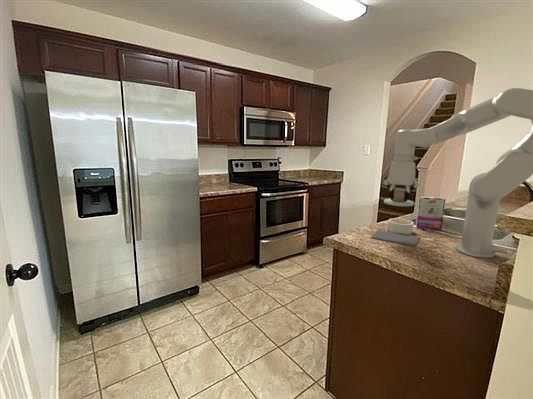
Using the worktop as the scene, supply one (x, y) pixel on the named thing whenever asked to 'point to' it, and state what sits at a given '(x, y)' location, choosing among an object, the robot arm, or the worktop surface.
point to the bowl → (400, 226)
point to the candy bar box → (430, 212)
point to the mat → (396, 238)
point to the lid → (399, 199)
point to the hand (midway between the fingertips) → (398, 199)
